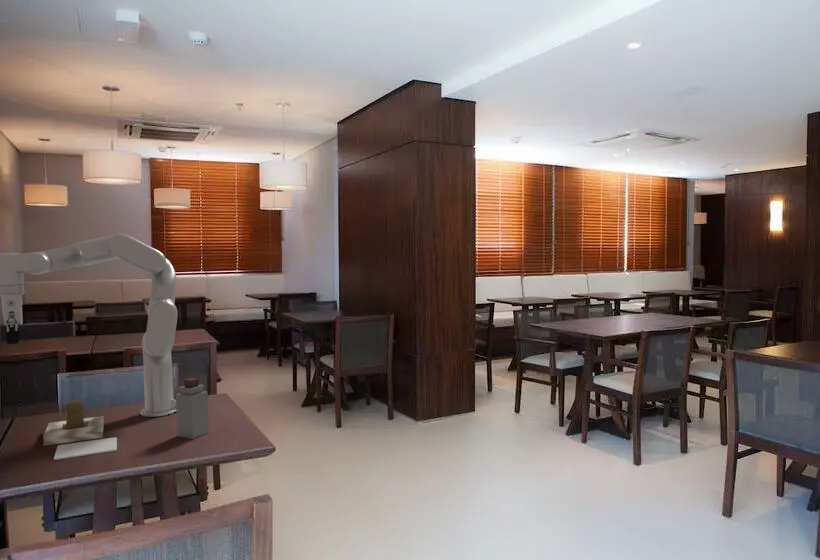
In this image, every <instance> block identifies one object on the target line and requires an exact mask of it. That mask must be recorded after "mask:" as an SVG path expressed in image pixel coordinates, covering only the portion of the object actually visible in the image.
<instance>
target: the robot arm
mask: <svg viewBox="0 0 820 560" xmlns="http://www.w3.org/2000/svg"><path fill="white" fill-rule="evenodd" d="M118 259H120V260H122V261H123V262H126V263H128V264H130V265H132V266H134V267H136V268H138V269H140V270H142V271H144V272H146V273H147V274H149V276H150V279H151V280H150V281H151V285H150V296H149V301H148V306H147V324H146V331H145V333H144V334H143V335H142V340H141V345H142V346H141V347H142V348H141V349H142V359H143V361H142V362H143V385H144V387H143V389H144V408H143V409H141V410H140V415H141V417H146V418H147V417H149V418H152V417H153V418H155V417H164V416H168V414H169V415H172V414H174V412H175V413H176V399H175V398H174V394H173V391H174V390H173V362H172V360H173V359H172V349H173V348H174V344H175V338H176V330H177V323H178V315H179V314H178V309H177V306H176V305H175V303H176V294H177V293H176V292H177V274H176V270H175V268H174V266H173V265H172V263H171V261H170V260H169V259H168V258H166V256H165V255H164V253H162V252H161V251H159V250H158V249H156V248H154V247H152V246H150V245H148V244H146V243H144V242H142V241H140V240H138V239H136V238H135V237H132V236H131V235H129V234H127V233H121V232H120V233H117V234H116V233H115V234H112V235H107V236H102V237H96V238H92V239H88V240H82V241H79V242H75V243H72V244H69V245H66V246H63V247H58V248H53V249H47V250H43V251H42V250H41V251H35V252H34V251H32V252H26V253H18V252H1V253H0V296H1V307H2V310H1V311H2V316H3V317H2V318H3V323H4V325H5V326H6V332H5V335H6V336H5V337H6V344H7V345H16V344H19V342H20V328H19V326H18V325H20V326H21V325H22V324H23V322H24V321H23V320H24V319H23V303H22V302H23V301H22V300H23V299H22V295H25V294H26V292H25V291H26V290H25V274H26V275H36V276H37V275H42V274H46V273H51V272H54V271H55V272H56V271H59V270H65V269H71V268H76V267H87V266H91V265H95V264H96V265H97V264H101V263H105V262H110V261H115V260H118Z"/></svg>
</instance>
